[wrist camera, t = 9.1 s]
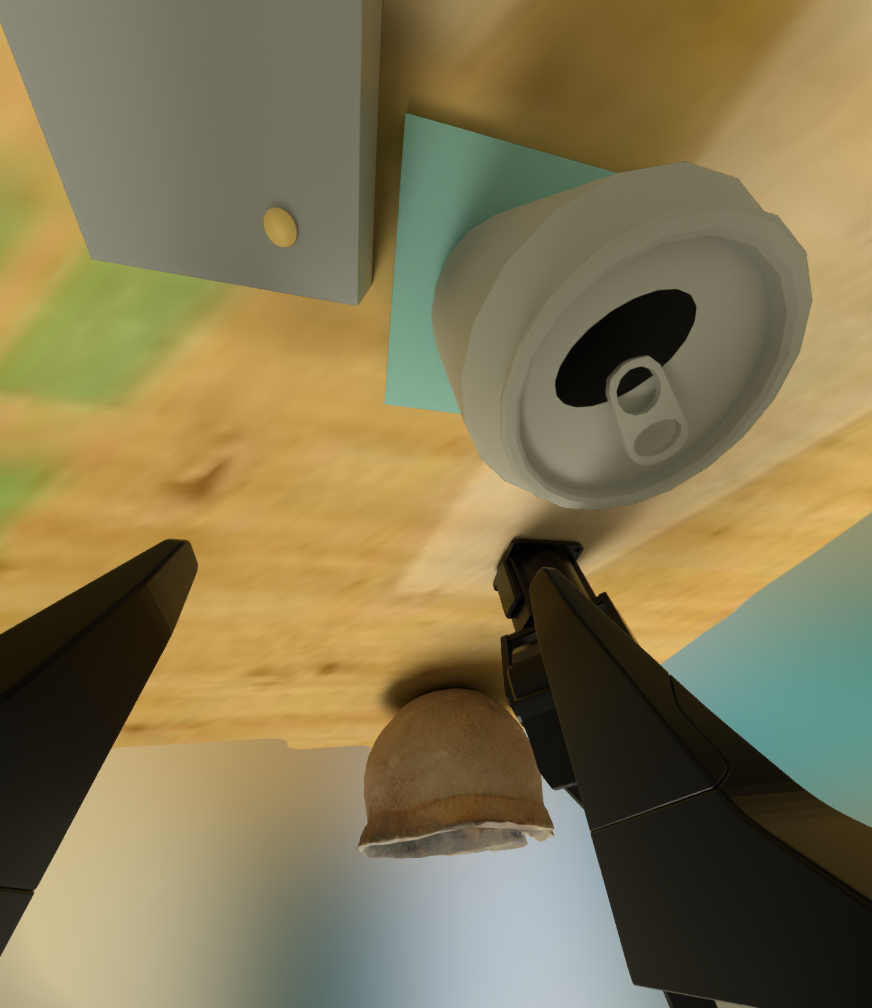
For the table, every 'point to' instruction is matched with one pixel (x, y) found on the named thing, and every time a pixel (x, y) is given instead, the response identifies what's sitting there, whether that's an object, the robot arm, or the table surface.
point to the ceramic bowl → (452, 780)
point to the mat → (452, 234)
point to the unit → (213, 133)
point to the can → (620, 331)
